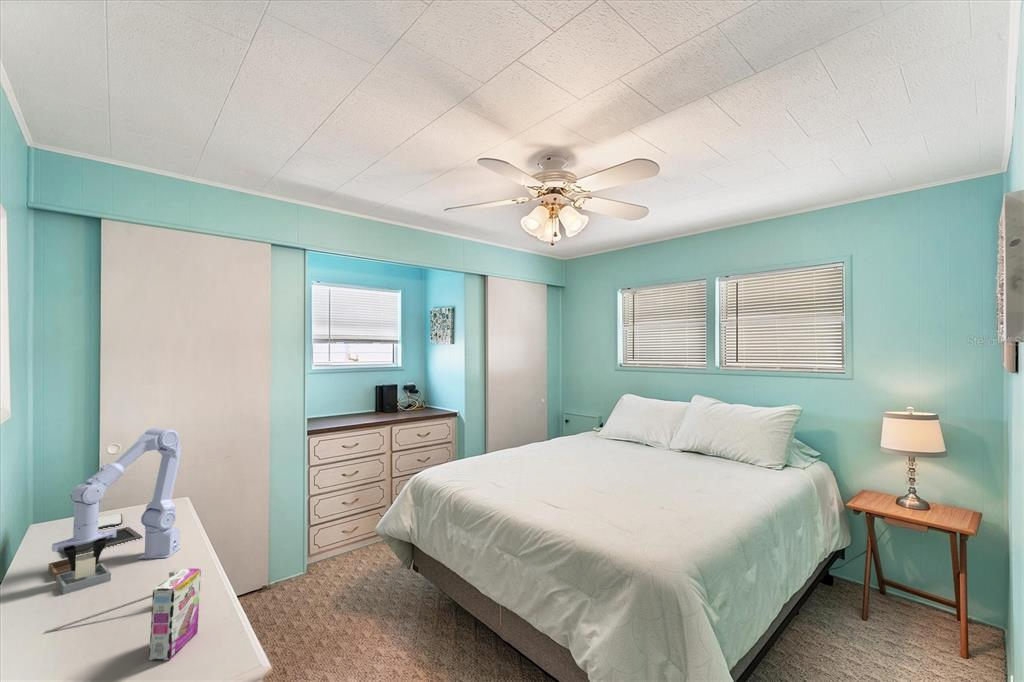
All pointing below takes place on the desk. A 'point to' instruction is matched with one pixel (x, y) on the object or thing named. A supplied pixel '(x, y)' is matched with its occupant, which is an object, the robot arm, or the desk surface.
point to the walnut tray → (62, 567)
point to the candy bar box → (174, 614)
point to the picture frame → (109, 540)
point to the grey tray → (82, 579)
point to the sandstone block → (84, 566)
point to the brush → (108, 609)
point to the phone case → (109, 521)
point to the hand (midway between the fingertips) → (84, 567)
